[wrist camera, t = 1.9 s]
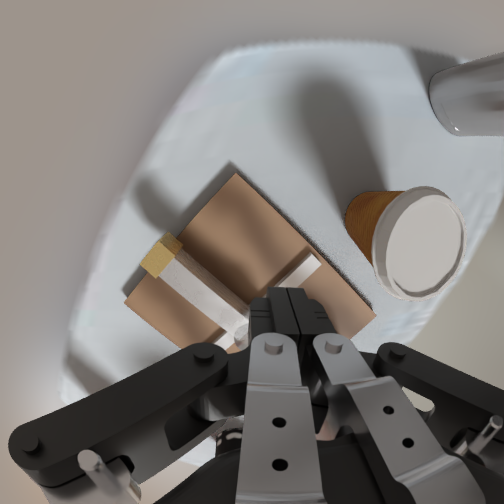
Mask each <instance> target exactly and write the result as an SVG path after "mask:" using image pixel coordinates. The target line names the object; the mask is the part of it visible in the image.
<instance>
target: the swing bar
mask: <svg viewBox="0 0 504 504" xmlns="http://www.w3.org/2000/svg"><path fill="white" fill-rule="evenodd" d="M182 246H183V244H182V243H181V242H180V241H178V240H177V239H176V238H175V237H174V236H173V235H172V234H171V233H170V232H167V233H166V234H165V235H164V236H163V237H162V238H161V239H160V240H159V241H158V242H157V243H156V244H155V245H154V247H153V248H152V249H151V250H150V252H149V253H148V254H147V255H146V257H145V258H144V259H143V260H142V262H141V263H140V265H141V266H142V267H143V268H144V269H145V270H147V271H148V272H149V273H150V274H151V275H152V276H153V277H154V278H157V277H158V276H159V277H160V278H162V279H163V280H164V281H165V282H166V283H167V284H169V285H170V286H171V287H172V288H173V289H174V290H176V291H177V292H178V293H179V294H180V295H182V296H183V297H184V298H185V299H186V300H188V301H189V302H190V303H191V304H193V305H194V306H195V307H196V308H198V309H199V310H200V311H201V312H203V313H204V314H205V315H206V316H208V317H209V318H210V319H211V320H213V321H214V322H215V323H217V324H218V325H219V326H220V327H222V328H223V329H224V330H226V331H227V332H228V333H230V334H231V335H232V336H234V342H235V344H236V346H237V347H238V348H239V349H240V350H241V351H242V350H244V349H245V348H247V347H248V325H249V311H250V305H247V304H246V303H245V302H244V301H243V300H241V299H240V298H239V297H238V296H237V295H235V294H234V293H233V292H232V291H231V290H229V289H228V288H227V287H226V286H225V285H224V284H222V283H221V282H220V281H219V280H218V279H216V278H215V277H214V276H213V275H212V274H211V273H209V272H208V271H207V270H206V269H205V268H204V267H203V266H201V265H200V264H199V263H198V262H197V261H196V260H195V259H193V258H192V257H191V256H190V255H189V254H188V253H187V252H185V251H184V250H183V249H182Z"/></svg>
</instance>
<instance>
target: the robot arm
mask: <svg viewBox="0 0 504 504" xmlns="http://www.w3.org/2000/svg"><path fill="white" fill-rule="evenodd" d="M429 94H430V101H431V104H432V107H433V110H434V112H435V114H436V116H437V118H438V120H439V121H440V123H441V124H442V125H443V126H444V127H445V128H446V129H447V130H448V131H449V132H450V133H452V134H454V135H456V136H504V52H501V53H498V54H494V55H491V56H487V57H484V58H480V59H477V60H473V61H470V62H467V63H464V64H461V65H458V66H454V67H452V68H449V69H446V70H443V71H440V72H438V73H436V74H435V75H434V76H433V77H432V79H431V81H430V86H429ZM403 386H404V387H405V388H408V389H409V390H411V391H413V392H415V393H417V394H420V395H421V396H423V397H425V398H427V399H430V400H431V401H432V402H433V403H434V405H435V406H434V408H433V409H432V410H430V411H428V412H423V411H421V410H419V409H417V408H415V407H414V406H413V404H412V403H411V402H410V400H409V399H408V397H407V396H406V395H405V393H404V392H403V390H402V387H403ZM241 415H244V424H243V433H242V443H241V448H239V449H235V450H232V451H228V452H226V453H223V454H221V455H219V456H217V457H215V458H213V459H211V460H210V461H208V462H206V463H205V464H204V465H202V466H201V467H200V468H199V469H198V470H196V471H195V472H194V473H193V474H191V475H190V476H189V477H188V478H187V479H185V480H184V481H183V482H182V483H180V484H179V485H178V486H176V487H175V488H174V489H172V490H171V491H170V492H168V493H167V494H166V495H164V496H163V497H162V498H161V499H159V500H158V501H156V502H155V503H153V504H504V390H502V389H499V388H497V387H495V386H493V385H491V384H488V383H485V382H484V381H481V380H479V379H477V378H475V377H472V376H470V375H468V374H466V373H463V372H461V371H459V370H457V369H454V368H452V367H450V366H448V365H446V364H444V363H441V362H439V361H437V360H435V359H433V358H431V357H428V356H426V355H424V354H422V353H420V352H418V351H415V350H413V349H411V348H409V347H407V346H405V345H402V344H399V343H394V342H388V343H384V344H382V345H381V346H380V347H379V349H378V351H377V354H374V353H367V352H361V351H358V350H357V348H356V347H355V345H354V344H353V343H352V341H351V340H350V339H348V338H347V337H345V336H342V335H339V334H337V332H336V330H335V328H334V326H333V324H332V322H331V320H330V319H329V317H328V315H327V313H326V311H325V309H324V307H323V305H322V304H320V303H319V302H318V301H316V300H315V299H308V297H307V295H306V293H305V290H304V288H294V287H286V288H285V287H269V286H268V287H267V292H266V298H260V297H255V298H254V299H253V300H252V301H251V303H250V311H249V325H248V347H247V348H245V349H244V350H242V351H239V352H236V353H231V354H227V352H226V350H224V349H223V348H222V347H220V346H218V345H216V344H213V343H206V342H201V343H194V344H191V345H189V346H187V347H185V348H183V349H181V350H179V351H178V352H176V353H174V354H172V355H170V356H168V357H166V358H164V359H162V360H161V361H159V362H157V363H155V364H153V365H151V366H149V367H147V368H145V369H143V370H141V371H139V372H137V373H135V374H133V375H131V376H129V377H127V378H125V379H123V380H121V381H119V382H117V383H115V384H113V385H111V386H109V387H107V388H105V389H103V390H101V391H98V392H96V393H94V394H92V395H90V396H88V397H86V398H83V399H81V400H79V401H77V402H75V403H72V404H70V405H68V406H66V407H63V408H61V409H59V410H56V411H54V412H52V413H49V414H47V415H45V416H42V417H40V418H37V419H35V420H32V421H30V422H27V423H25V424H23V425H20V426H19V427H17V428H16V429H15V430H14V431H13V433H12V434H11V436H10V438H9V443H8V448H9V453H10V455H11V457H12V459H13V460H14V461H15V463H16V464H17V465H18V466H19V467H20V468H21V469H23V470H24V471H25V472H26V473H27V474H28V475H29V477H30V478H31V479H32V480H33V481H34V482H35V483H36V484H37V485H38V486H39V487H40V488H41V489H42V491H43V492H44V494H45V496H46V498H47V500H48V501H49V503H50V504H139V502H140V500H141V490H140V487H139V485H140V484H141V483H143V482H144V481H146V480H147V479H149V478H150V477H152V476H154V475H155V474H157V473H158V472H160V471H161V470H163V469H164V468H166V467H167V466H169V465H170V464H172V463H173V462H175V461H176V460H177V459H179V458H180V457H182V456H183V455H184V454H186V453H187V452H189V451H190V450H191V449H193V448H194V447H195V446H197V445H198V444H199V443H201V442H202V441H203V440H205V439H206V438H207V437H208V436H210V435H211V434H212V433H213V432H215V431H216V430H217V429H218V428H220V427H221V426H222V425H223V424H224V423H225V422H226V420H227V418H231V417H236V416H241Z"/></svg>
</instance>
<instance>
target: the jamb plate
mask: <svg viewBox="0 0 504 504" xmlns="http://www.w3.org/2000/svg"><path fill="white" fill-rule="evenodd" d="M176 239H177V240H178V241H180V242H181V243H182V244H183V246H182V249H183V250H184V251H185V252H187V253H188V254H189V255H190V256H191V257H192V258H193V259H195V260H196V261H197V262H198V263H199V264H200V265H201V266H203V267H204V268H205V269H206V270H207V271H208V272H209V273H211V274H212V275H213V276H214V277H215V278H216V279H218V280H219V281H220V282H221V283H222V284H224V285H225V286H226V287H227V288H228V289H229V290H231V291H232V292H233V293H234V294H235V295H237V296H238V297H239V298H240V299H241V300H243V301H244V302H245V303H246V304H247V305H250V303H251V301H252V300H253V299H254V298H255V297H260V298H266V292H267V287H268V286H269V287H285V288H286V287H294V288H304V290H305V293H306V295H307V297H308V299H315V300H316V301H318V302H319V303H320V304H322V305H323V307H324V309H325V311H326V313H327V315H328V317H329V319H330V320H331V322H332V324H333V326H334V328H335V330H336V332H337V334H339V335H342V336H345V337H347V338H348V339H351V338H352V337H353V336H355V335H356V334H357V333H358V332H359V331H360V330H361V329H363V328H364V327H365V326H366V325H367V324H368V323H369V322H370V321H371V320H373V319H374V318H375V317H376V314H375V313H374V312H373V311H372V310H371V308H370V307H369V306H368V305H367V304H366V303H365V302H364V301H363V300H362V299H361V297H360V296H359V295H358V294H357V293H356V292H355V291H354V290H353V289H352V288H351V287H350V286H349V284H348V283H347V282H346V281H345V280H344V279H343V278H342V277H341V276H340V275H339V274H338V273H337V272H336V271H335V270H334V269H333V267H332V266H331V265H330V264H329V263H328V262H327V261H326V260H325V259H324V258H323V257H322V256H321V255H320V254H319V253H318V252H317V251H316V250H315V249H314V248H313V247H312V246H311V245H310V244H309V243H308V242H307V241H306V240H305V239H304V238H303V237H302V236H301V235H300V234H299V233H298V232H297V231H296V230H295V229H294V228H293V227H292V226H291V225H290V224H289V223H288V222H287V221H286V220H285V219H284V218H283V217H282V216H281V215H280V214H279V213H278V212H277V211H276V210H275V209H274V208H273V207H272V206H271V205H270V204H269V203H268V202H267V201H266V200H265V199H264V198H263V197H262V196H261V195H260V194H259V193H257V192H256V191H255V190H254V189H253V188H252V187H251V186H250V185H249V184H248V183H247V182H246V181H245V180H244V179H243V178H242V177H240V176H239V175H238V174H237V173H235V174H234V175H233V176H232V177H231V178H230V179H229V180H228V181H227V182H226V184H225V185H224V186H223V187H222V188H221V189H220V190H219V191H218V192H217V193H216V194H215V195H214V196H213V197H212V199H211V200H210V201H209V202H208V203H207V204H206V205H205V206H204V207H203V208H202V209H201V211H200V212H199V213H198V214H197V215H196V216H195V217H194V218H193V220H192V221H191V222H190V223H189V224H188V225H187V226H186V227H185V229H184V230H183V231H182V232H181V233H180V234H179V236H178V237H177V238H176ZM124 304H126V305H127V306H128V307H129V308H130V309H131V310H133V311H134V312H135V313H136V314H137V315H139V316H140V317H141V318H142V319H144V320H145V321H146V322H147V323H148V324H150V325H151V326H152V327H153V328H155V329H156V330H157V331H159V332H160V333H161V334H162V335H164V336H165V337H166V338H168V339H169V340H170V341H172V342H173V343H174V344H176V345H177V346H178V347H180V348H181V349H183V348H185V347H187V346H189V345H191V344H194V343H201V342H206V343H213V344H216V345H218V346H220V347H222V348H223V349H224V350H226V352H227V354H231V353H236V352H239V351H241V350H240V349H239V348H238V347H237V346H236V344H235V342H234V336H232V335H231V334H230V333H228V332H227V331H226V330H224V329H223V328H222V327H220V326H219V325H218V324H217V323H215V322H214V321H213V320H211V319H210V318H209V317H208V316H206V315H205V314H204V313H203V312H201V311H200V310H199V309H198V308H196V307H195V306H194V305H193V304H191V303H190V302H189V301H188V300H186V299H185V298H184V297H183V296H182V295H180V294H179V293H178V292H177V291H176V290H174V289H173V288H172V287H171V286H170V285H169V284H167V283H166V282H165V281H164V280H163V279H162V278H160V277H159V276H158V277H157V278H154V277H153V276H152V275H151V274H150V273H149V272H148V273H147V274H146V275H145V276H144V278H143V279H142V280H141V281H140V283H139V284H138V285H137V286H136V288H135V289H134V290H133V291H132V293H131V294H130V295H129V297H128V298H127V299H126V300H125V302H124Z"/></svg>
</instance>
